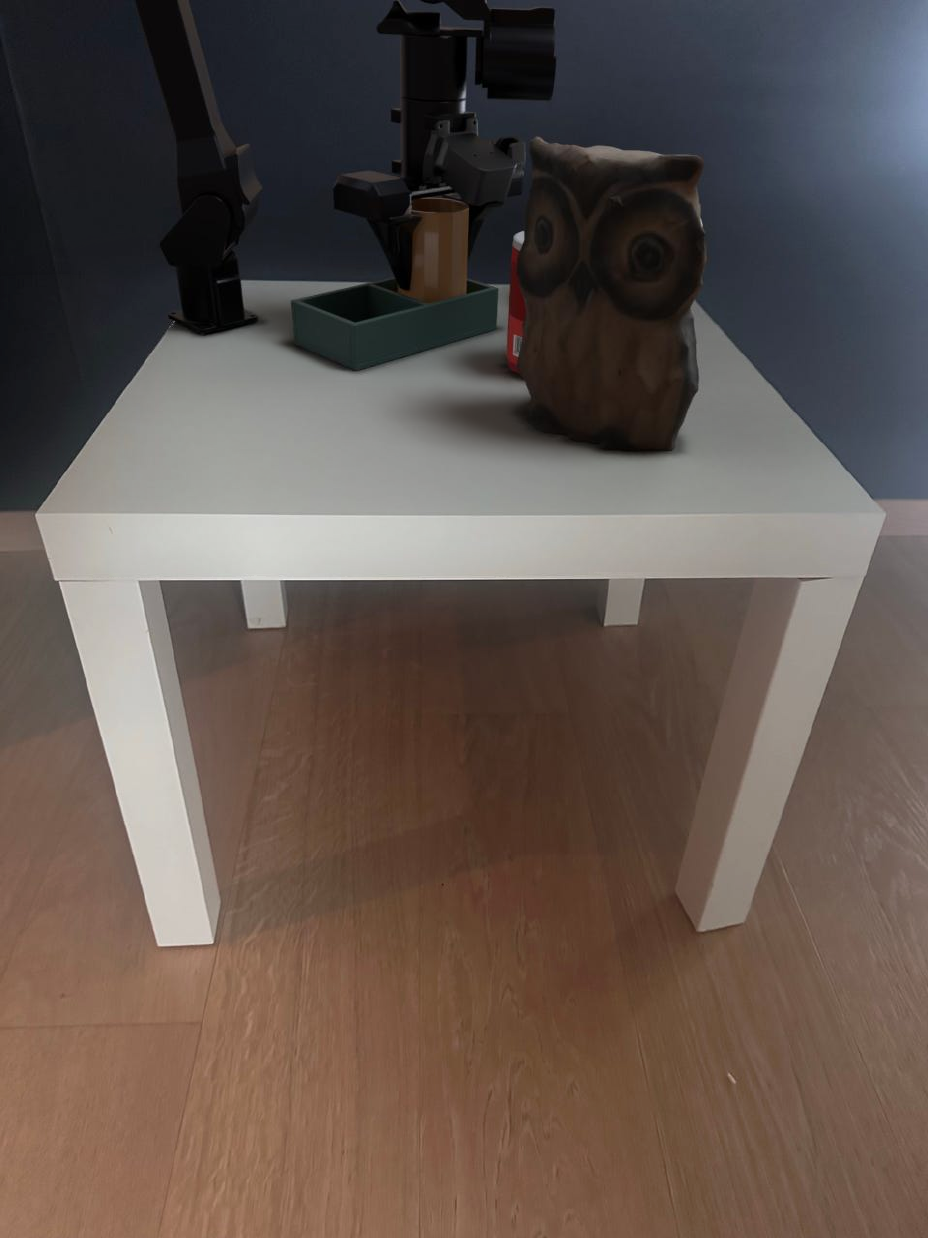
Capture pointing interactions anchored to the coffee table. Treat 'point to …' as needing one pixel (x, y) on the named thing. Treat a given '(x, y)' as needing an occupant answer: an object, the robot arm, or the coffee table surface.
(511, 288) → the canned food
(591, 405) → the owl
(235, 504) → the coffee table surface
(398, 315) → the divided storage box
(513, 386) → the coffee table surface
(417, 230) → the bamboo cup
